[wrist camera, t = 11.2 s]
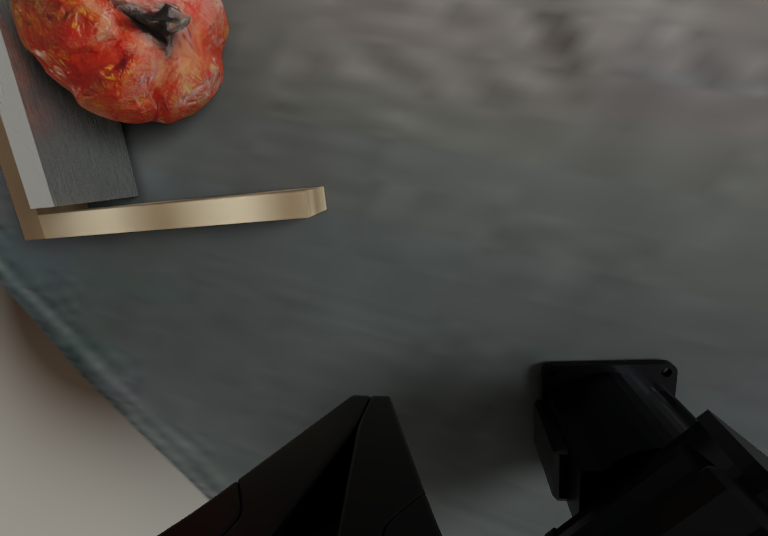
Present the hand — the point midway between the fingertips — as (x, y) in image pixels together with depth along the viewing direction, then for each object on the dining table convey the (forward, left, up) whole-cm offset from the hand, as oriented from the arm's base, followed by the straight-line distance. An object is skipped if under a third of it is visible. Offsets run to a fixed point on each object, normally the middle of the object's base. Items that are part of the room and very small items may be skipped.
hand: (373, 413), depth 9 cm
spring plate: (+15, -10, -13) cm, 22 cm away
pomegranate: (+11, -12, -13) cm, 21 cm away
